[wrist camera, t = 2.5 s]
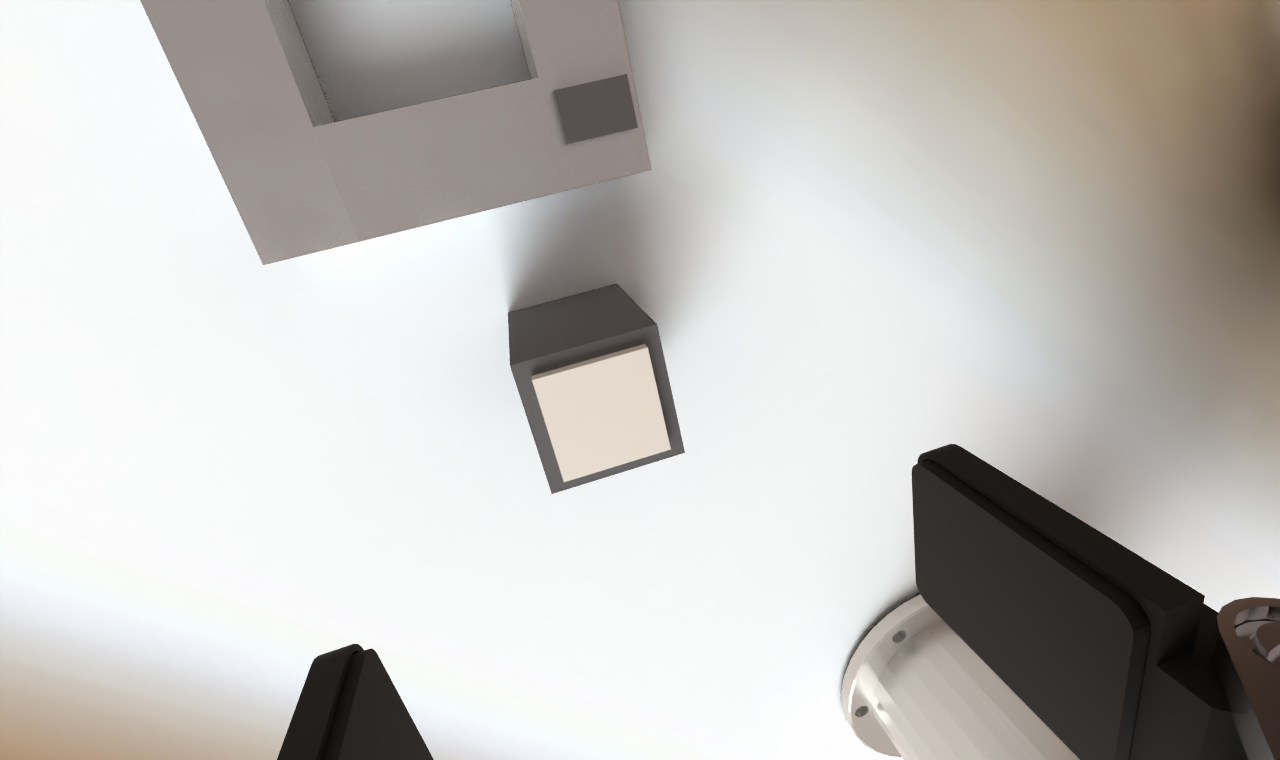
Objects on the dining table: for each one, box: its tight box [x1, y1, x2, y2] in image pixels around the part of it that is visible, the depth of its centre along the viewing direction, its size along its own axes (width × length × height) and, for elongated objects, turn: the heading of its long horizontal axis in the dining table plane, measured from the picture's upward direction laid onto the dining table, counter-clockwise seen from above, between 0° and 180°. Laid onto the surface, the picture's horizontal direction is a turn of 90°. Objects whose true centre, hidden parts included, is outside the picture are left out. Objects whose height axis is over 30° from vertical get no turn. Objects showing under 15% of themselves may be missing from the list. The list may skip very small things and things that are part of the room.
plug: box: [508, 284, 685, 494], centre depth 22 cm, size 5×5×7 cm
